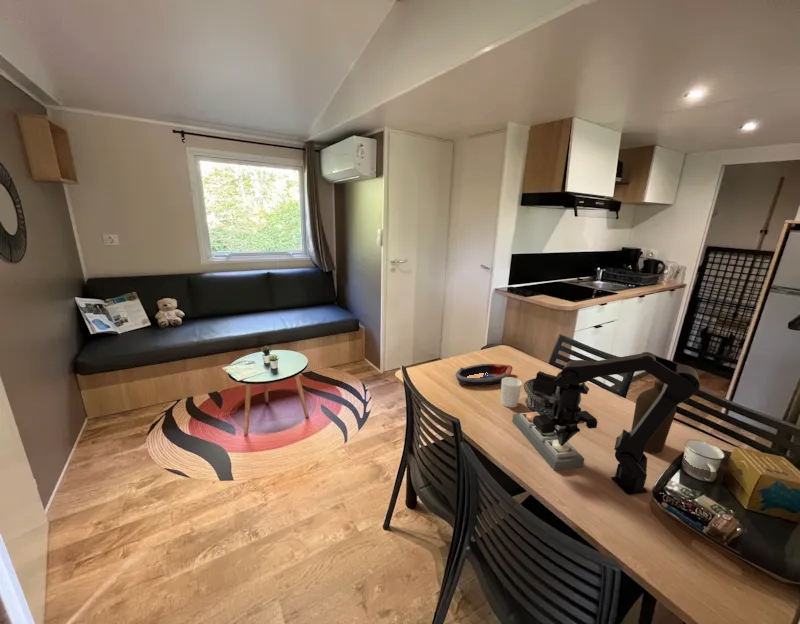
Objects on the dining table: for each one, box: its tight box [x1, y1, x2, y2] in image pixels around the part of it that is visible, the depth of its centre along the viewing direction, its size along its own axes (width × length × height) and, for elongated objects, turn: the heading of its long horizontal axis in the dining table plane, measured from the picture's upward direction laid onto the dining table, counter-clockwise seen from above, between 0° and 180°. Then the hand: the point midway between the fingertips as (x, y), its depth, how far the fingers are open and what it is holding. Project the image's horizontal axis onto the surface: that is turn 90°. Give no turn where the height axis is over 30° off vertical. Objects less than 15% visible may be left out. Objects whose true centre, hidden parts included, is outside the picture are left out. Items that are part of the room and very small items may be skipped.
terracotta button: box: [526, 411, 538, 423], centre depth 124 cm, size 5×5×2 cm
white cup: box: [500, 376, 523, 409], centre depth 139 cm, size 8×8×10 cm
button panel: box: [511, 411, 585, 471], centre depth 117 cm, size 26×10×4 cm, turn 10°
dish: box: [455, 363, 513, 387], centre depth 161 cm, size 16×31×5 cm, turn 109°
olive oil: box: [630, 377, 677, 454], centre depth 113 cm, size 11×11×25 cm
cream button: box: [552, 440, 569, 453], centre depth 109 cm, size 5×5×2 cm
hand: (561, 444), depth 108 cm, fingers closed, pressing on cream button
